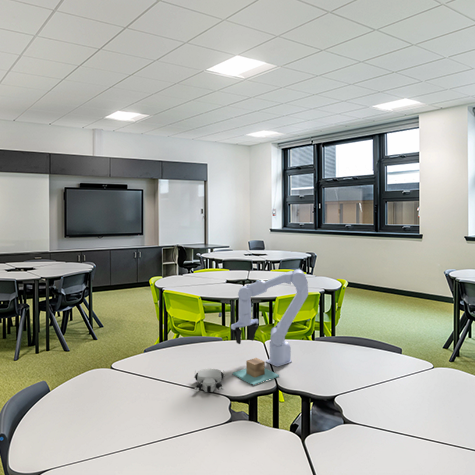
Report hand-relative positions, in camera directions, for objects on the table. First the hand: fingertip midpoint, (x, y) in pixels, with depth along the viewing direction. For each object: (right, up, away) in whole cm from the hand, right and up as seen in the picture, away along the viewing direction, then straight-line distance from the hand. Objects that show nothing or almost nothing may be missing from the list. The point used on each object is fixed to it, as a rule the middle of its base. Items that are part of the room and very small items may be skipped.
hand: (245, 341), depth 191 cm
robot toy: (-15, -12, -24) cm, 31 cm away
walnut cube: (+4, -10, -15) cm, 18 cm away
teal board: (+4, -11, -15) cm, 19 cm away
